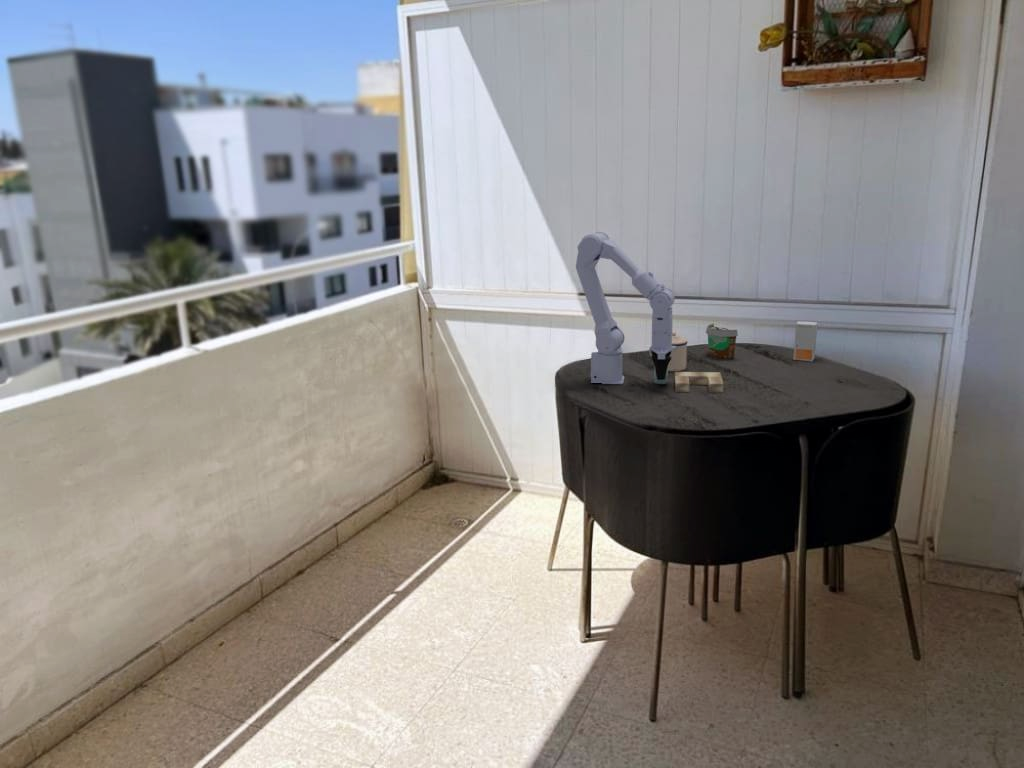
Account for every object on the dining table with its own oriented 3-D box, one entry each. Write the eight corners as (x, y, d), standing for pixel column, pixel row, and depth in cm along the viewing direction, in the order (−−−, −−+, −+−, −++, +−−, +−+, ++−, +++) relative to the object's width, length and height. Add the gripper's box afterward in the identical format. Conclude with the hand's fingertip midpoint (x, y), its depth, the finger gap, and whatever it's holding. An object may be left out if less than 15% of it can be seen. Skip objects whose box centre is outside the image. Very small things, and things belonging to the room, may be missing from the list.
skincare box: (792, 360, 232) (795, 323, 229) (795, 357, 236) (797, 320, 232) (813, 361, 229) (816, 324, 226) (815, 358, 233) (818, 322, 229)
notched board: (675, 391, 205) (675, 383, 204) (674, 379, 216) (674, 371, 216) (723, 392, 202) (723, 383, 202) (719, 380, 214) (720, 372, 213)
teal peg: (653, 383, 210) (654, 367, 209) (653, 379, 214) (654, 363, 213) (667, 384, 209) (668, 367, 208) (667, 380, 213) (668, 363, 212)
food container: (697, 354, 244) (698, 325, 241) (711, 352, 246) (712, 323, 244) (721, 362, 233) (723, 332, 230) (736, 359, 236) (738, 329, 233)
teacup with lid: (689, 365, 231) (690, 329, 228) (682, 372, 223) (683, 336, 220) (653, 362, 236) (653, 327, 233) (645, 369, 229) (645, 333, 225)
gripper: (676, 337, 200) (675, 384, 204) (675, 326, 213) (674, 370, 217) (650, 337, 201) (649, 384, 205) (651, 326, 215) (650, 370, 219)
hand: (660, 377), depth 211 cm, fingers closed on teal peg, 4 cm apart
